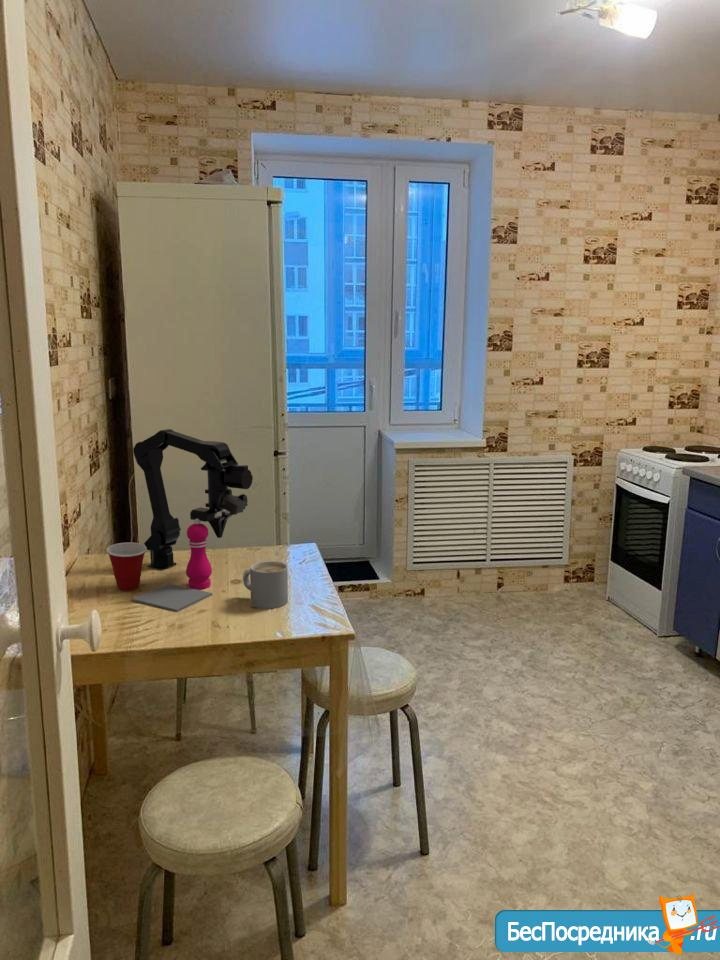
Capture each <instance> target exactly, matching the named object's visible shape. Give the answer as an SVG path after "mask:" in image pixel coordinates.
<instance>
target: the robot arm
mask: <svg viewBox="0 0 720 960" xmlns="http://www.w3.org/2000/svg"><path fill="white" fill-rule="evenodd" d="M169 446H170V447H173V448H177V449H178V450H179V449H180V450H182V451H185V452H188V453H190V454H194V455H195V456H197V457H198V459H200V460H201V461H203V462H204V465H203V466H201V467H200V470H201V471H206V472H207V489H204V493H205V494H207V498H208V502H206V503H205V504H204V505H205V507H201V506H200V507H198V508H197V507H196V508H194V509H192V510H191V511H190V512H189V515H190V517H189V518H190V520H191V521H194V520H195V519H199V520H200V522H204V523H205V522H208V523H209V525H210V527H211V528H212V530H213V532H214V534H215V536H216V537H217V539H218V538H219V539H220V538H223V534H224V531H225V528H226V525H227V521H228V520H229V518H231V517H232V516H235V515H238V514H241V513H243V512H244V510H246V507H247V506H248V495H246V494H245V493H241V494H239V495H233V491H232V489H240V490H241V489H242V490H249V489H250V487H251V486H252V483H253V478H254V477H253V474H252V472H251V470H250V469H249V466H248V465H247V464H242V465H241V464H239V463H238V462H237V460H236V458H235V456H234V455H233V454H232V452H231V450H230V447H229V445H228V444H227V443H226V442H222V441H217V440H216V441H213V440H202V439H199V438H196V437H193V436H190V435H187V434H184V433H181V432H177V431H175V430H174V429H171V428H167V429H161V430H159V431H158V432H156V433H155V434H153V435H151V436H149V437H148V438H145V439H144V440H142V441H138V442H137V443H136V444H135V445H134V446H133V449H132V451H133V455H134V458H135V461H136V464H137V466H139V468H140V469H141V470H142V471H143V474H144V478H145V483H146V488H147V492H148V497H149V502H150V506H151V507H150V508H151V512H152V517H153V518H152V520H151V525H150V536H149V537H148V538H147V539H146V541H145V542H144V544H143V545H145V546H146V547H147V550H146V551H149V552H150V554H149V555H150V564H147V566H146V567H147V568H149V569H150V568H152V569H155V570H160V571H163V570H167V569H169V568H172V567H174V566H177V562H174V552H173V546H174V545H176V543H177V542H178V538H179V537H180V536H181V535H180V534H181V532H180V531H182V528H181V527H180V523H179V522H180V521H179V518H178V517H173V515H172V514H171V512H170V507H169V504H168V498H167V493H166V489H165V485H164V484H165V483H164V479H163V474H162V469H161V467H162V463H163V460H164V453H163V451H165V450H166V449H167V448H168V447H169Z"/></svg>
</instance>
